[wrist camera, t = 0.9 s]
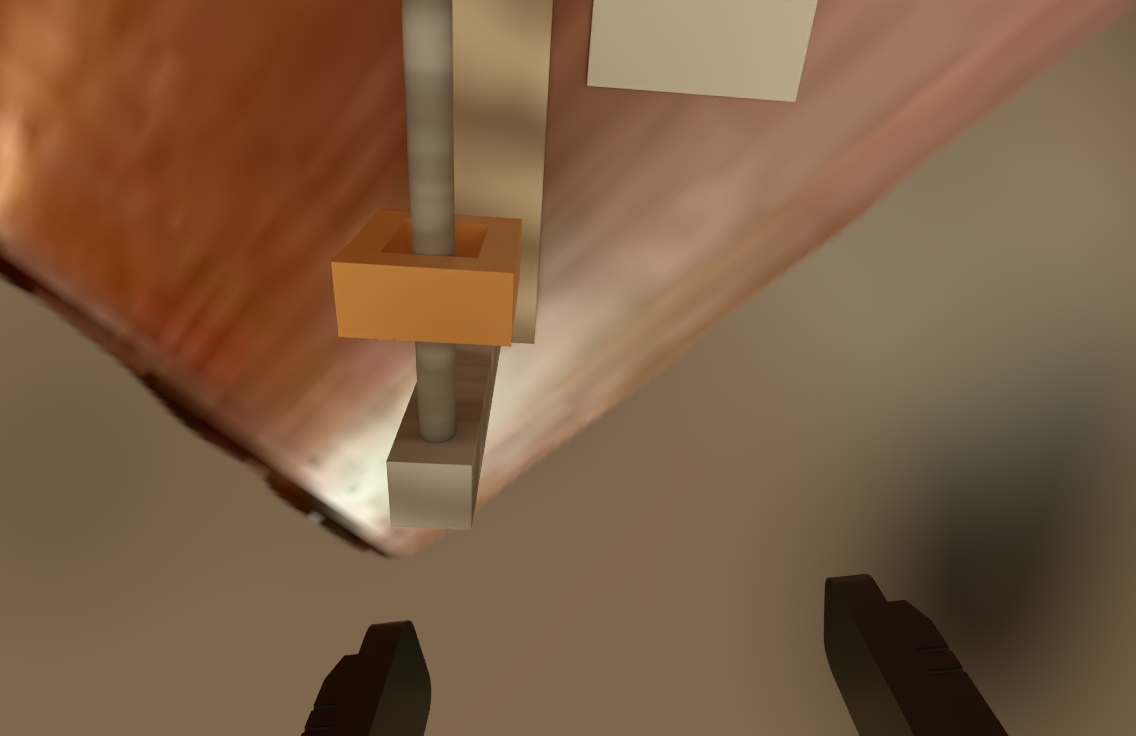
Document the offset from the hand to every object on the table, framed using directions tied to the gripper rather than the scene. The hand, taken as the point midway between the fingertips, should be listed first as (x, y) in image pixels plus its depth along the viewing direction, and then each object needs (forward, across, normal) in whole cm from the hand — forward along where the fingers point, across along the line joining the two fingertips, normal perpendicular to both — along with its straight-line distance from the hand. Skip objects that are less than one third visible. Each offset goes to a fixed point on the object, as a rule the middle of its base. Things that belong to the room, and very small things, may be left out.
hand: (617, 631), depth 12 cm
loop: (+16, +5, -5) cm, 18 cm away
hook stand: (+28, +5, -8) cm, 29 cm away
